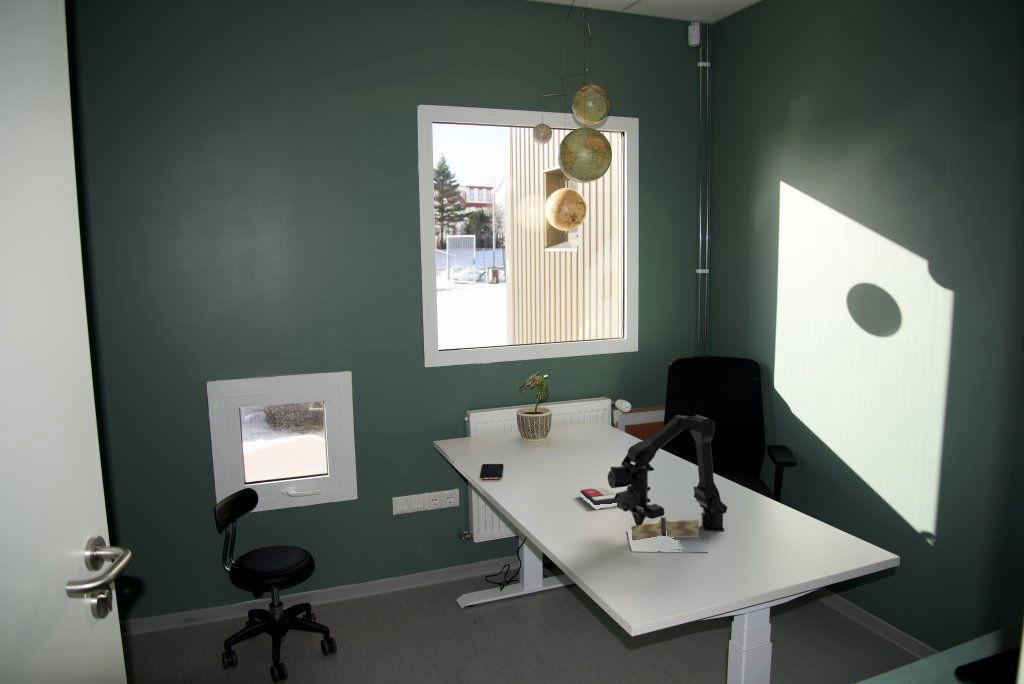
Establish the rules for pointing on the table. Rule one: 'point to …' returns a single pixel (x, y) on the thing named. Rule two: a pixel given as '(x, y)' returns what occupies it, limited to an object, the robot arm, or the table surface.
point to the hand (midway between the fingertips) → (638, 528)
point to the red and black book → (599, 495)
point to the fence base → (679, 527)
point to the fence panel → (646, 530)
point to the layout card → (690, 543)
